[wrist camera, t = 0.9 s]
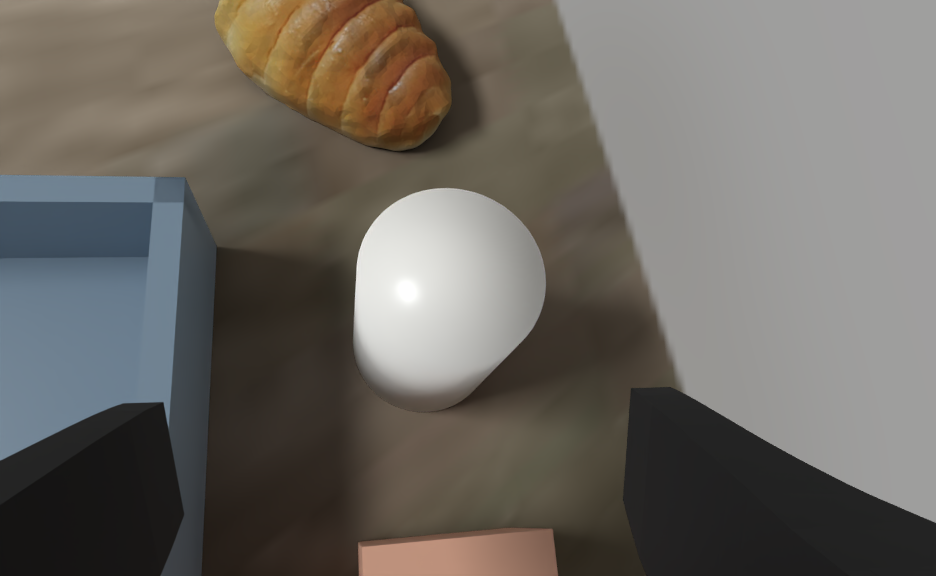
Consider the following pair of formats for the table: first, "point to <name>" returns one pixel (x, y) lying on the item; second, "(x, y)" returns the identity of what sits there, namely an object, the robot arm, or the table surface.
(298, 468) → the table surface
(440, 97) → the pastry
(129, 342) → the tote
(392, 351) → the white egg shape
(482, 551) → the cube
